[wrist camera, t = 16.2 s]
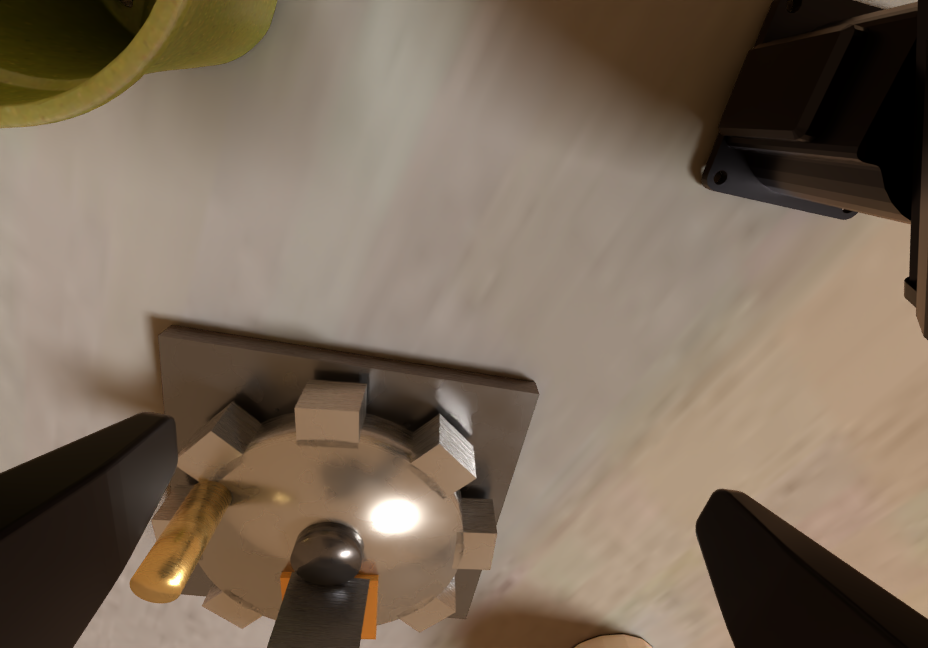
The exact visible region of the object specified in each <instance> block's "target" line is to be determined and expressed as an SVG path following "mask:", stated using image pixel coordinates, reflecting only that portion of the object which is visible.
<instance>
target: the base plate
mask: <svg viewBox="0 0 928 648" xmlns="http://www.w3.org/2000/svg"><path fill="white" fill-rule="evenodd" d="M158 340H159V353H160V365H161V377H162V389H163V402H164V414H166V415H170V416H172V417H173V418H174V420H175V423H176V432H177V447H178V454H179V453H180V452H181V451H182V449H183V448H184V447H185V445H186V444H187V443H188V442H189V440H190V439H191V438H192V436H193V435H194V434H195V433H196V431H197V430H199V429H200V428H201V427H202V426H203V425H205V424H206V423H207V422H208V421H209V420H211V419H212V418H213V417H214V416H215V415H217V414H218V413H219V412H220V411H222V410H223V409H224V408H225V407H226V406H228V405H229V404H230V403H231V402H232V401H234V402H235V403H236V404H237V405H239V406H240V407H241V408H243V409H244V410H245V411H246V412H248V413H249V414H250V415H251V416H253V417H254V418H255V419H257V420H258V421H259V422H260V423H263V422H265V421H267V420H270V419H273V418H276V417H279V416H281V415H284V414H289V413H294V412H295V406H296V404H297V402H298V400H299V398H300V396H301V394H302V392H303V390H304V388H305V386H306V384H307V382H308V380H323V381H338V382H353V383H367V409H366V413H367V414H372V415H375V416H378V417H381V418H384V419H387V420H390V421H393V422H395V423H397V424H399V425H401V426H403V427H405V428H407V429H409V430H411V431H412V432H414V431H416V430H417V429H419V428H420V427H422V426H423V425H424V424H426V423H427V422H429V421H430V420H432V419H433V418H434V417H436V416H437V415H439V414H440V415H441V416H442V417H444V418H445V419H446V420H447V421H448V422H449V423H450V424H451V425H452V426H453V427H454V428H455V429H456V430H457V431H458V432H459V433H460V434H461V435H462V436H463V437H464V438H465V439H466V440H467V441H468V442H469V443H470V444H471V445H472V446H473V447H474V457H475V468H476V479H475V480H473V481H472V482H470V483H468V484H467V485H465V486H464V487H462V488H461V489H460V491H461V497H462V498H474V499H493V506H494V513H495V521H496V525H497V522H498V519H499V516H500V513H501V510H502V507H503V504H504V501H505V498H506V495H507V492H508V489H509V486H510V482H511V479H512V476H513V473H514V470H515V467H516V464H517V461H518V458H519V455H520V452H521V449H522V446H523V443H524V440H525V437H526V433H527V430H528V427H529V424H530V421H531V418H532V415H533V412H534V409H535V406H536V403H537V400H538V397H539V392H538V389H537V386H536V383H535V382H531V381H524V380H518V379H512V378H505V377H499V376H493V375H486V374H480V373H474V372H467V371H461V370H454V369H448V368H442V367H435V366H429V365H423V364H416V363H410V362H403V361H397V360H391V359H384V358H378V357H372V356H365V355H359V354H353V353H346V352H340V351H333V350H327V349H321V348H314V347H308V346H302V345H295V344H289V343H283V342H276V341H270V340H263V339H257V338H251V337H244V336H238V335H232V334H225V333H219V332H213V331H206V330H200V329H193V328H187V327H181V326H174V325H171V326H170V327H169V328H167V329H166V330H165V331H163V332H162V333H161V334H160V335H158ZM197 483H199V481H197V480H196V479H194V478H193V477H191V476H190V475H188V474H187V473H185V472H184V471H183V470H181V469H180V468H178V467H176V470H175V472H174V475H173V477H172V478H171V480H170V487H171V492H172V490H173V489H174V488H175V486H176V485H195V484H197ZM481 571H482V570H479V569H458V570H457V572H456V574H455V603H456V612H455V613H453V614H452V615H450V616H448V618H460V619H466V617H467V614H468V611H469V608H470V605H471V602H472V599H473V596H474V593H475V590H476V586H477V583H478V580H479V577H480V574H481ZM212 584H213V582H212V581H211V580H210V579H209V578H208V576H207V575H206V574H205V572H204V571H203V569H202V568H201V566H200V565H199V563H197V565H196V566H195V568H194V570H193V572H192V574H191V576H190V577H189V579H188V581H187V583H186V585H185V587H184V588H183V590H182V592H181V594H184V595H196V596H207V594H208V592H209V590H210V588H211V586H212Z"/></svg>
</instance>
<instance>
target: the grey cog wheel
mask: <svg viewBox="0 0 928 648" xmlns="http://www.w3.org/2000/svg"><path fill="white" fill-rule="evenodd" d="M366 409H367V383H353V382H338V381H323V380H308V382H307V384H306V386H305V388H304V390H303V392H302V394H301V396H300V398H299V400H298V402H297V404H296V406H295V412H294V413H289V414H284V415H281V416H279V417H276V418H273V419H270V420H267V421H265V422H263V423H260V422H259V421H258V420H257V419H255V418H254V417H253V416H251V415H250V414H249V413H248V412H246V411H245V410H244V409H243V408H241V407H240V406H239V405H237V404H236V403H235V402H234V401H232V402H231V403H230V404H229V405H228V406H226V407H225V408H224V409H223V410H222V411H220V412H219V413H218V414H217V415H215V416H214V417H213V418H212V419H211V420H209V421H208V422H207V423H206V424H205V425H203V426H202V427H201V428H200V429H199V430H197V431H196V433H195V434H194V435H193V436H192V438H191V439H190V440H189V442H188V443H187V444H186V445H185V447H184V448H183V449H182V451H181V452H180V453H179V454H178V463H177V467H178V468H180V469H181V470H183V471H184V472H185V473H187V474H188V475H190V476H191V477H193V478H194V479H196V480H197V481H199V483H197V484H195V485H176V486H175V488H174V489H173V490H172V492H171V493H170V495H169V496H168V497H167V499H166V500H165V502H164V503H163V504H162V506H161V507H160V509H159V510H158V511H157V513H156V514H155V515H154V517H153V518H152V520H151V521H152V525H153V529H154V533H155V537H156V543H155V544H154V546H153V547H152V549H151V550H150V552H149V553H148V555H147V556H146V558H145V559H144V561H143V562H142V564H141V565H140V567H139V568H138V569H137V571H136V572H135V574H134V575H133V577H132V578H131V580H130V588H131V590H132V591H133V593H134V594H135V595H137V596H138V597H140V598H141V599H143V600H146V601H149V602H153V603H168V602H172V601H174V600H176V599H177V598H178V597H179V596H180V594H181V592H182V590H183V588H184V587H185V585H186V583H187V581H188V579H189V577H190V576H191V574H192V572H193V570H194V568H195V566H196V565H197V563H199V565H200V566H201V568H202V569H203V571H204V572H205V574H206V575H207V576H208V578H209V579H210V580H211V581H212V582H213V584H212V586H211V588H210V590H209V592H208V594H207V596H206V598H205V600H204V602H203V604H202V606H203V607H205V608H206V609H208V610H210V611H212V612H213V613H215V614H217V615H219V616H220V617H222V618H224V619H226V620H228V621H229V622H231V623H233V624H235V625H236V626H238V627H240V628H242V629H243V628H244V627H246V626H247V625H249V624H250V623H252V622H254V621H255V620H257V619H258V618H260V617H261V616H266V617H268V618H271V619H274V620H276V619H277V616H278V613H279V610H280V607H281V604H282V601H283V598H284V594H285V591H286V588H287V585H288V582H289V579H290V576H291V573H292V572H295V573H296V574H297V575H298V576H300V577H301V578H303V579H304V580H306V581H308V582H311V583H314V584H318V585H338V584H342V583H345V582H347V581H349V580H351V579H352V578H361V579H370V582H369V589H368V595H367V602H366V608H365V614H364V621H363V627H362V633H361V639H376V628H377V625H380V624H384V623H388V622H391V621H394V620H397V619H400V620H402V621H403V622H405V623H406V624H408V625H409V626H411V627H412V628H414V629H415V630H417V631H418V632H421V631H423V630H425V629H427V628H428V627H430V626H432V625H434V624H436V623H437V622H439V621H441V620H443V619H444V618H446V617H448V616H450V615H452V614H453V613H455V612H456V603H455V574H456V572H457V570H458V569H479V570H490V568H491V563H492V558H493V553H494V548H495V542H496V537H497V529H496V521H495V513H494V506H493V499H474V498H462V497H461V491H460V489H461V488H462V487H464V486H465V485H467V484H468V483H470V482H472V481H473V480H475V479H476V468H475V457H474V447H473V446H472V445H471V444H470V443H469V442H468V441H467V440H466V439H465V438H464V437H463V436H462V435H461V434H460V433H459V432H458V431H457V430H456V429H455V428H454V427H453V426H452V425H451V424H450V423H449V422H448V421H447V420H446V419H445V418H444V417H442V416H441V415H440V414H439V415H437V416H436V417H434V418H433V419H432V420H430V421H429V422H427V423H426V424H424V425H423V426H422V427H420V428H419V429H417V430H416V431H414V432H412V431H411V430H409V429H407V428H405V427H403V426H401V425H399V424H397V423H395V422H393V421H390V420H387V419H384V418H381V417H378V416H375V415H372V414H367V413H366Z"/></svg>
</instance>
